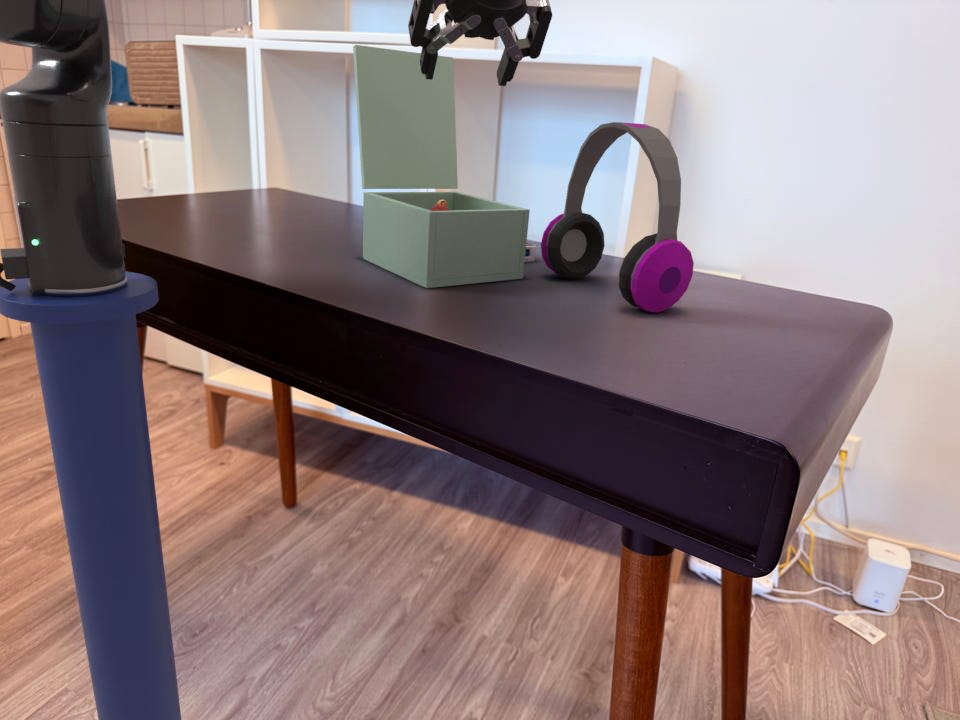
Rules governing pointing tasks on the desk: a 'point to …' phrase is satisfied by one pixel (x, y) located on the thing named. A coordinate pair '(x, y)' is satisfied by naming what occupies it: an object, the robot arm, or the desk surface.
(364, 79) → the lid
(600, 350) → the desk surface
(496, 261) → the box body
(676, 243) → the headphones
